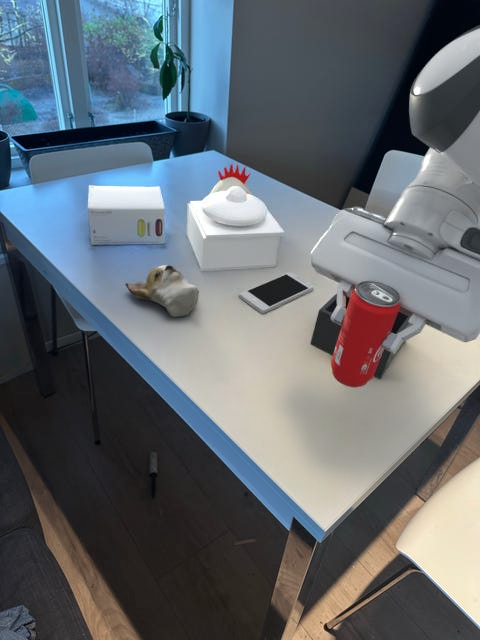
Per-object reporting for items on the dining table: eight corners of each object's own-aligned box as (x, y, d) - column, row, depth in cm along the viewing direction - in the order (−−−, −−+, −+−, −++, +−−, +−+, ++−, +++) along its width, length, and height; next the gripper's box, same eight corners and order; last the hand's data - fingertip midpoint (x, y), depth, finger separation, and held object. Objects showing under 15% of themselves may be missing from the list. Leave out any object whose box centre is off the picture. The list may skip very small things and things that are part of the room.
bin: (405, 340, 85) (420, 307, 80) (380, 379, 76) (394, 344, 71) (341, 311, 91) (351, 279, 86) (310, 344, 82) (318, 309, 77)
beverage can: (344, 354, 57) (370, 274, 50) (379, 376, 54) (411, 295, 47) (320, 372, 54) (343, 289, 47) (356, 396, 51) (386, 313, 44)
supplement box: (90, 246, 101) (86, 207, 96) (92, 220, 111) (88, 184, 106) (165, 244, 105) (165, 207, 100) (160, 220, 115) (160, 184, 110)
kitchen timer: (249, 236, 113) (257, 178, 104) (197, 226, 115) (200, 168, 106) (259, 214, 124) (266, 160, 115) (211, 206, 126) (214, 151, 117)
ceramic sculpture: (168, 290, 75) (119, 258, 83) (169, 332, 80) (123, 297, 88) (215, 271, 81) (165, 243, 90) (214, 311, 86) (167, 281, 95)
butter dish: (186, 234, 111) (188, 171, 101) (255, 232, 116) (263, 171, 106) (201, 272, 97) (205, 202, 88) (278, 267, 102) (290, 201, 93)
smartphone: (238, 296, 91) (238, 292, 90) (289, 274, 100) (290, 271, 99) (262, 314, 87) (263, 310, 87) (313, 289, 96) (314, 286, 95)
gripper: (340, 188, 52) (278, 288, 52) (524, 254, 43) (450, 377, 42) (349, 213, 58) (293, 304, 58) (514, 277, 48) (449, 386, 48)
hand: (361, 336), depth 50 cm, fingers closed on beverage can, 5 cm apart
